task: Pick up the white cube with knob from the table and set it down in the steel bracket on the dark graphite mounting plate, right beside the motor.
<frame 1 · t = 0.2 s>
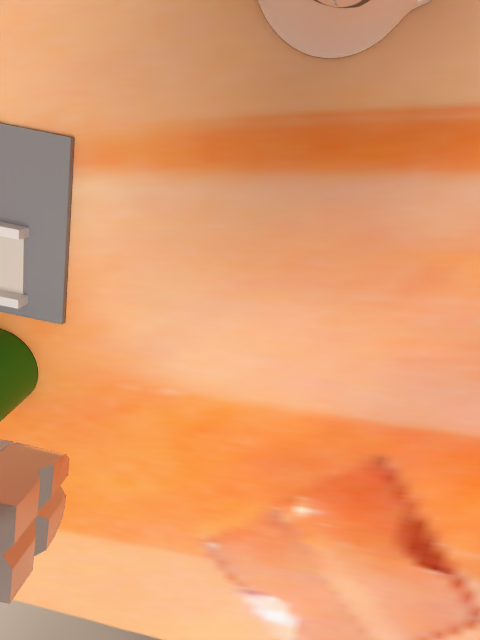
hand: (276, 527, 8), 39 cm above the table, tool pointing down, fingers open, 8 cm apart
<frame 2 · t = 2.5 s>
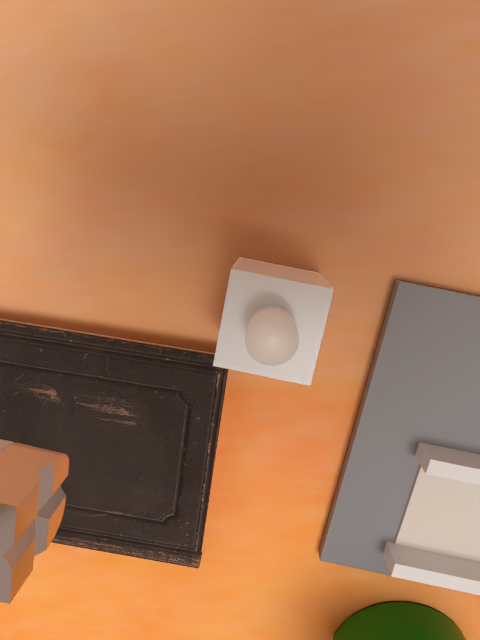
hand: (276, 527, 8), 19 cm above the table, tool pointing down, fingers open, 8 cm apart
hardcover book: (58, 426, 31), on the table
mounting plate: (474, 452, 28), on the table
white cube with knob: (271, 304, 27), on the table
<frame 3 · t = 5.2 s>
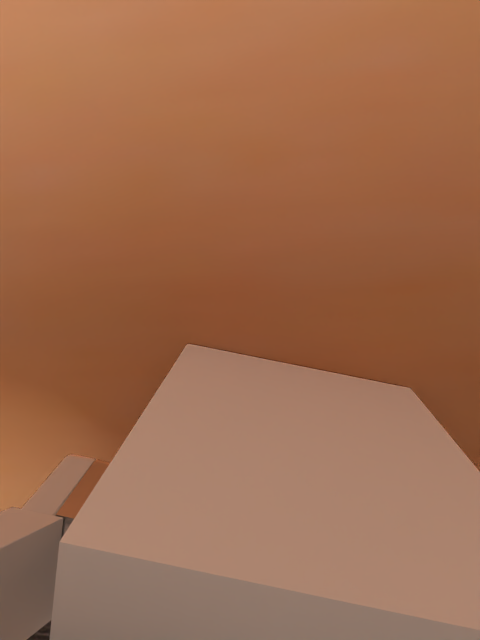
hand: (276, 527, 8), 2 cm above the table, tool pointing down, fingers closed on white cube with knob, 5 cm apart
white cube with knob: (275, 464, 10), on the table, touching gripper
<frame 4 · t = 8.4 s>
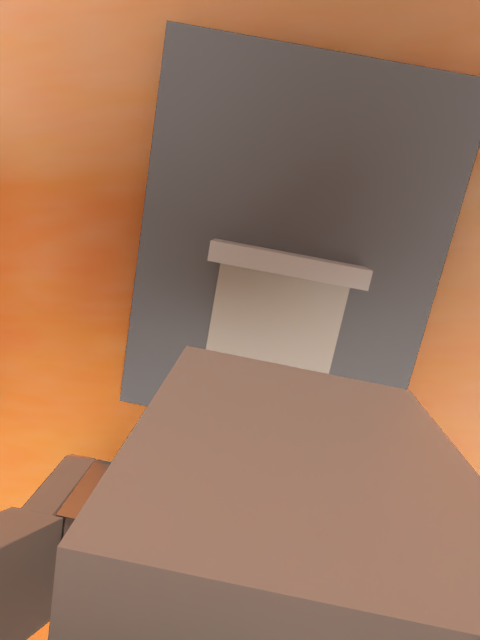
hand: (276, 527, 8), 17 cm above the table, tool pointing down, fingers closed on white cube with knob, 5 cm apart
mounting plate: (287, 256, 24), on the table
white cube with knob: (274, 466, 10), point 15 cm above the table, touching gripper
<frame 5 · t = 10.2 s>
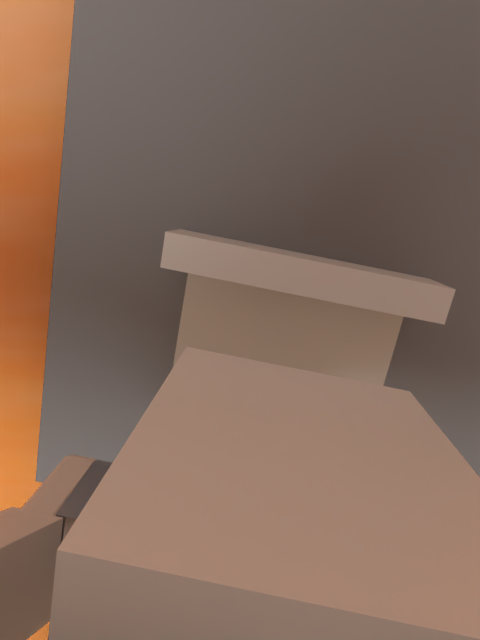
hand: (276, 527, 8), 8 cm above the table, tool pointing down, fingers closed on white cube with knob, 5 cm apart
mounting plate: (300, 260, 14), on the table
white cube with knob: (274, 467, 10), point 6 cm above the table, touching gripper
when the fingers open (5 cm above the table, at t = 11.7 s): white cube with knob drops 1 cm, resting on mounting plate.
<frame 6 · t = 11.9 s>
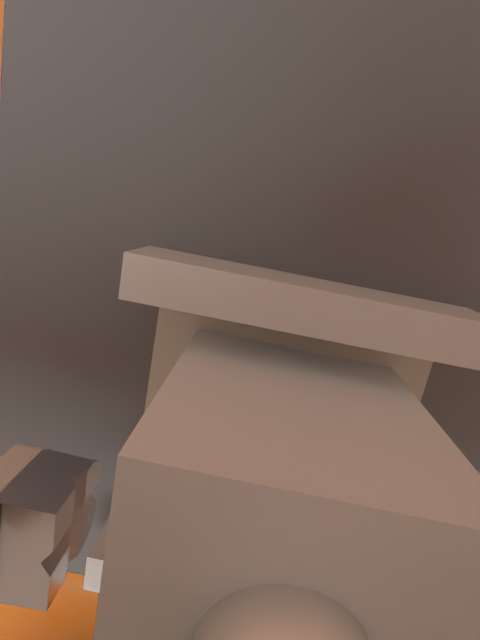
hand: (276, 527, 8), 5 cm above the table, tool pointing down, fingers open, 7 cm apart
mounting plate: (302, 283, 12), on the table
white cube with knob: (274, 435, 12), point 1 cm above the table, touching mounting plate
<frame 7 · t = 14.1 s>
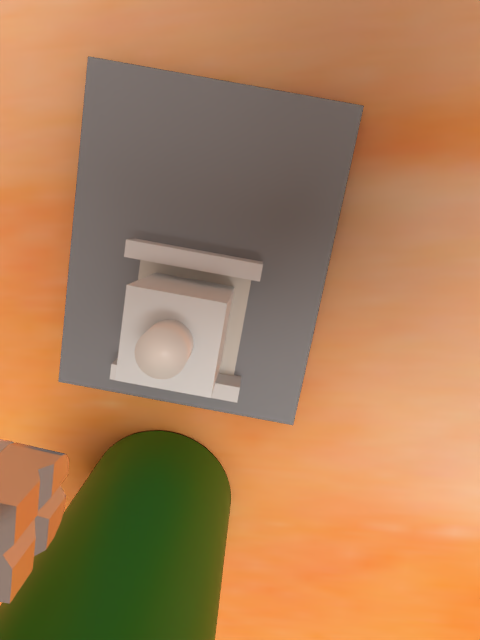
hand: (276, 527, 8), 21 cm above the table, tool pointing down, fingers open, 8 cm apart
mounting plate: (200, 254, 27), on the table
white cube with knob: (189, 318, 27), point 1 cm above the table, touching mounting plate
motor: (164, 485, 31), on the table
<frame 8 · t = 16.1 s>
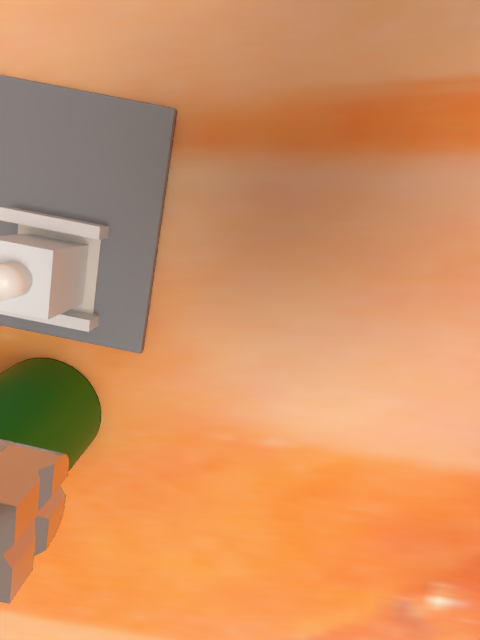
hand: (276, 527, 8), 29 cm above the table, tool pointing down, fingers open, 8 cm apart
mounting plate: (66, 220, 36), on the table
white cube with knob: (56, 268, 36), point 1 cm above the table, touching mounting plate
motor: (51, 402, 40), on the table
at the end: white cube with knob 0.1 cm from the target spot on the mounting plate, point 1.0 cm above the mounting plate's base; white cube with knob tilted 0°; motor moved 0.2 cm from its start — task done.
